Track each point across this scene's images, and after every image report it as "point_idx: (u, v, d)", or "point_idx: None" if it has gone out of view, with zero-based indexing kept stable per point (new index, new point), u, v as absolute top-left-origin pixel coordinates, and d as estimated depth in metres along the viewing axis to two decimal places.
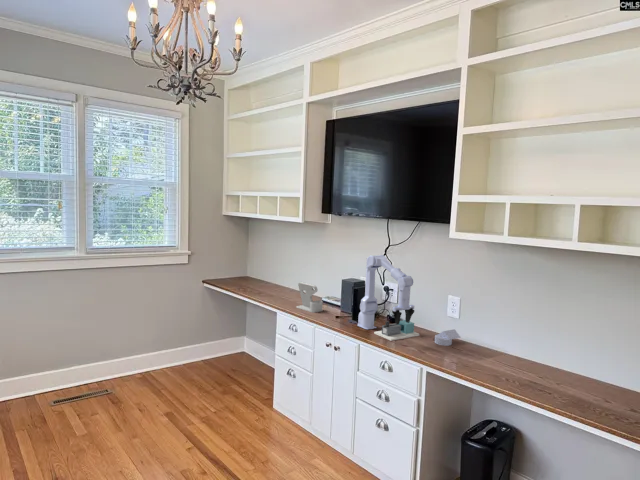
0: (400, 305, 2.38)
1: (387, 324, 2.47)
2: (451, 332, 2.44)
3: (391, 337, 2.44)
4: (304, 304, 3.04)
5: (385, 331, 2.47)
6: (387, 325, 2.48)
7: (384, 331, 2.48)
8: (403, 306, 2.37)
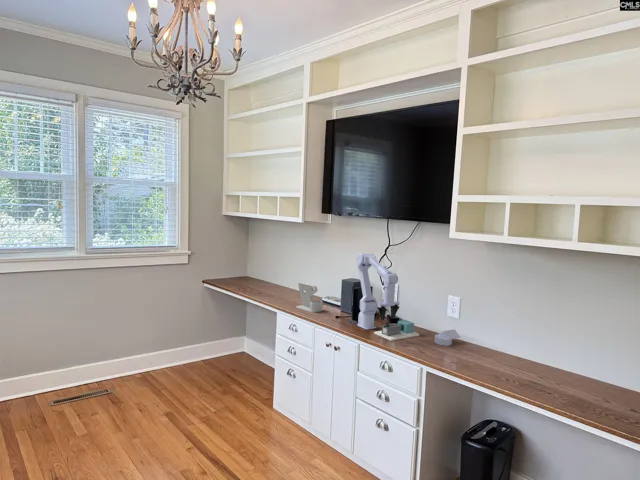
0: (385, 301, 2.45)
1: (387, 324, 2.47)
2: (451, 332, 2.44)
3: (391, 337, 2.44)
4: (304, 304, 3.04)
5: (385, 331, 2.47)
6: (387, 325, 2.48)
7: (384, 331, 2.48)
8: (388, 302, 2.44)
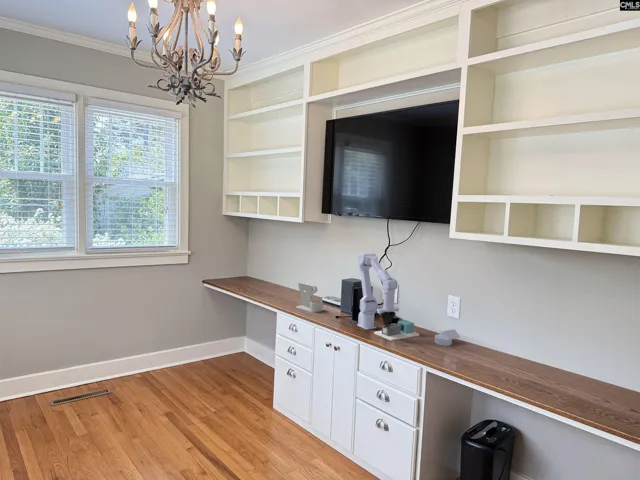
0: (385, 307, 2.45)
1: (387, 324, 2.47)
2: (451, 332, 2.44)
3: (391, 337, 2.44)
4: (304, 304, 3.04)
5: (385, 331, 2.47)
6: (387, 325, 2.48)
7: (384, 331, 2.48)
8: (388, 308, 2.44)
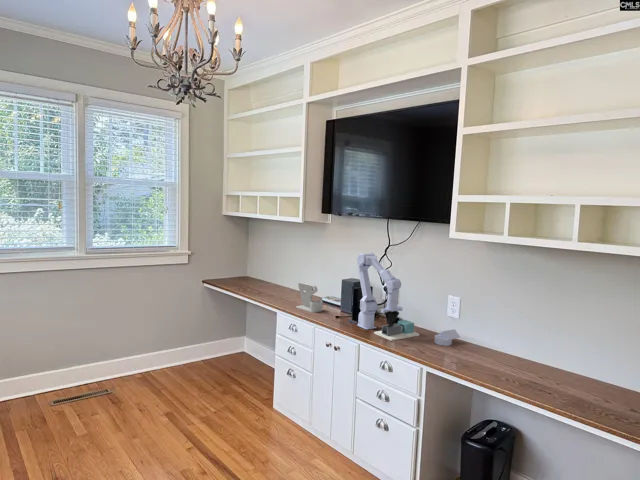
0: (388, 307, 2.47)
1: (391, 323, 2.49)
2: (451, 332, 2.44)
3: (391, 337, 2.44)
4: (304, 304, 3.04)
5: None
6: (391, 324, 2.49)
7: None
8: (391, 308, 2.46)
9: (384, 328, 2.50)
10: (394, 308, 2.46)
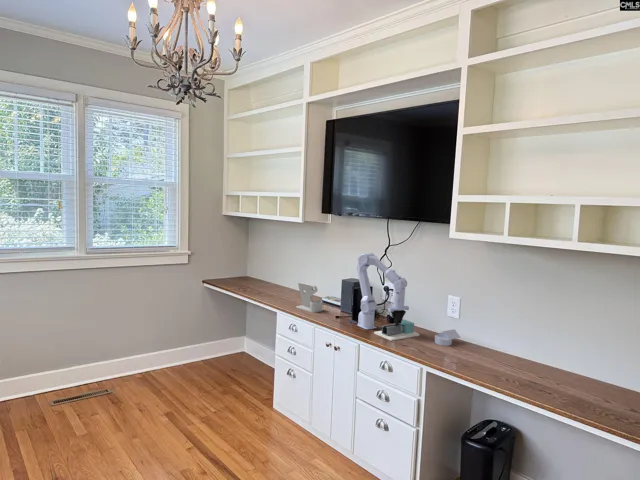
0: (395, 306, 2.50)
1: None
2: (451, 332, 2.44)
3: (391, 337, 2.44)
4: (304, 304, 3.04)
5: None
6: None
7: None
8: (398, 307, 2.49)
9: (384, 328, 2.50)
10: (401, 307, 2.49)
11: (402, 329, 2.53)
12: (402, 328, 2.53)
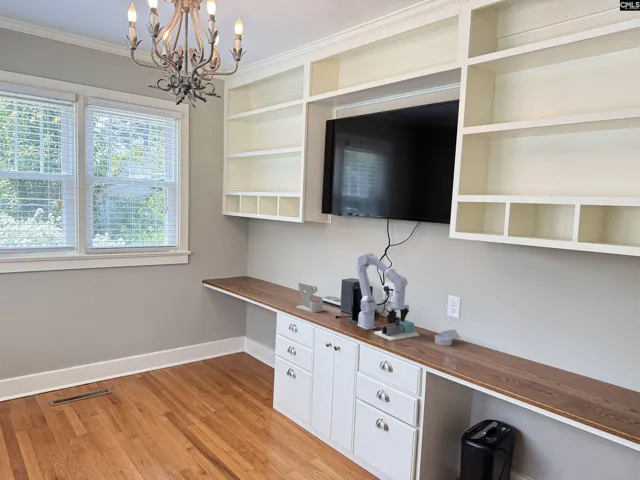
0: (395, 305, 2.50)
1: (397, 322, 2.52)
2: (451, 332, 2.44)
3: (391, 337, 2.44)
4: (304, 304, 3.04)
5: None
6: (397, 323, 2.52)
7: None
8: (398, 306, 2.49)
9: (384, 328, 2.50)
10: (401, 306, 2.49)
11: (402, 329, 2.53)
12: (402, 328, 2.53)
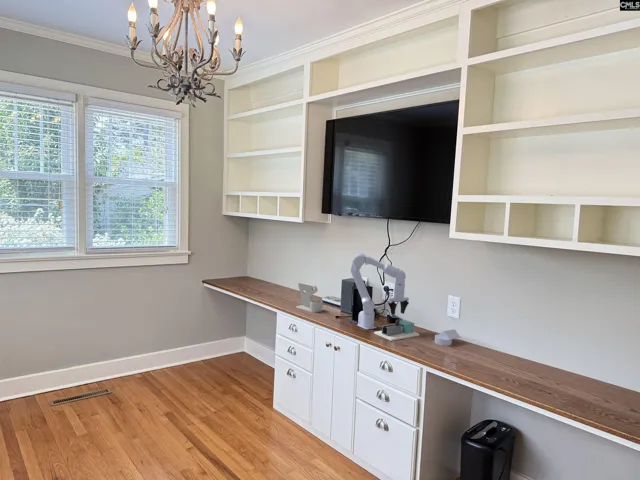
0: (395, 297, 2.57)
1: (397, 322, 2.52)
2: (451, 332, 2.44)
3: (391, 337, 2.44)
4: (304, 304, 3.04)
5: None
6: (397, 323, 2.52)
7: None
8: (398, 298, 2.57)
9: (384, 328, 2.50)
10: (401, 298, 2.57)
11: (402, 329, 2.53)
12: (402, 328, 2.53)
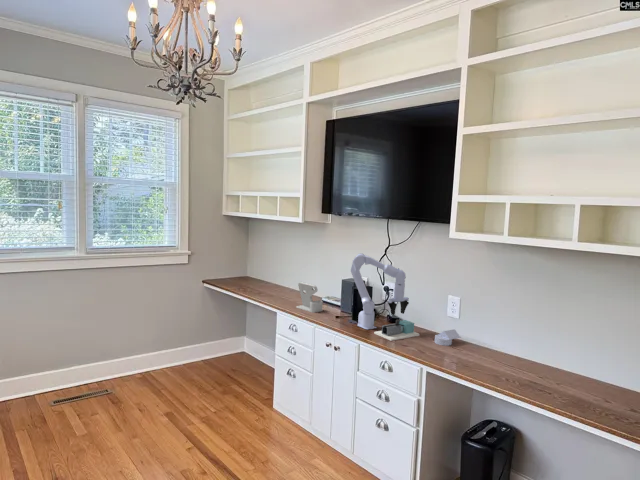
0: (395, 297, 2.57)
1: (397, 322, 2.52)
2: (451, 332, 2.44)
3: (391, 337, 2.44)
4: (304, 304, 3.04)
5: None
6: (397, 323, 2.52)
7: None
8: (398, 298, 2.57)
9: (384, 328, 2.50)
10: (401, 298, 2.57)
11: (402, 329, 2.53)
12: (402, 328, 2.53)
